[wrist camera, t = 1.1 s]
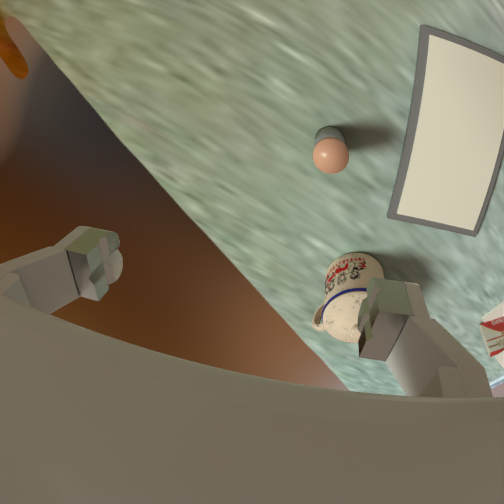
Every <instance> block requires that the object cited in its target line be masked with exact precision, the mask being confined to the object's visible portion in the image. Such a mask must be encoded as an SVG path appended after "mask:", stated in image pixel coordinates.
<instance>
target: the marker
mask: <svg viewBox="0 0 504 504" xmlns="http://www.w3.org/2000/svg"><path fill="white" fill-rule="evenodd" d="M313 160H314V163H315V165H316V166H317V167H318V168H319V169H320V170H321V171H323V172H325V173H329V174H334V173H338V172H340V171H342V170H343V169H344V168H345V167H346V165H347V163H348V160H349V154H348V150H347V147H346V144H345V141H344V137H343V134H342V133H341V131H340V130H339V129H337V128H335V127H332V126H326V127H323V128H321V129H320V130H319V131H318V132H317V134H316V138H315V147H314V151H313Z"/></svg>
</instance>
